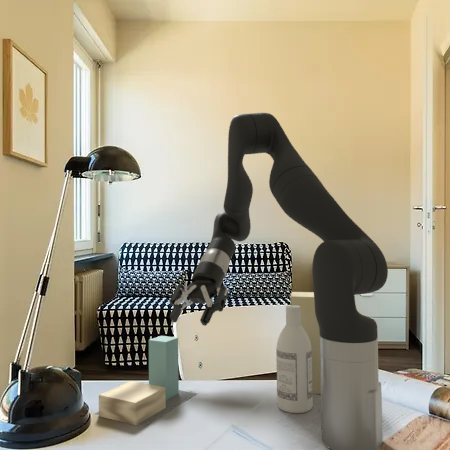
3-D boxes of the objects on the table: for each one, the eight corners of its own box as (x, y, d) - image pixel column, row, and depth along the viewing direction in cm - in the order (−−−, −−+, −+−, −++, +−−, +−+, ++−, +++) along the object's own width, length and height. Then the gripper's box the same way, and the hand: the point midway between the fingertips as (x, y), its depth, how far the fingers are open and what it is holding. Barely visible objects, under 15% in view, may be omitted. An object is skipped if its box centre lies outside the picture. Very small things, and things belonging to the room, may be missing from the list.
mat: (197, 394, 92) (197, 393, 92) (143, 427, 76) (143, 426, 76) (153, 386, 98) (153, 385, 98) (94, 415, 82) (94, 413, 82)
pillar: (178, 393, 92) (178, 337, 93) (166, 400, 88) (165, 342, 89) (161, 390, 94) (161, 335, 95) (149, 396, 90) (148, 339, 91)
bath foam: (303, 399, 89) (301, 303, 90) (318, 412, 82) (316, 308, 83) (272, 402, 87) (270, 304, 88) (285, 416, 80) (283, 309, 81)
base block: (165, 407, 84) (165, 387, 85) (135, 425, 77) (135, 402, 77) (130, 400, 89) (130, 380, 89) (98, 416, 81) (98, 394, 81)
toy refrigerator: (325, 395, 91) (323, 296, 92) (291, 393, 93) (289, 296, 93) (324, 382, 99) (322, 292, 100) (292, 381, 100) (291, 291, 101)
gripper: (183, 259, 112) (156, 310, 101) (231, 260, 105) (207, 314, 94) (194, 278, 116) (169, 328, 106) (240, 280, 109) (219, 334, 99)
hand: (187, 322), depth 100 cm, fingers open, 8 cm apart
